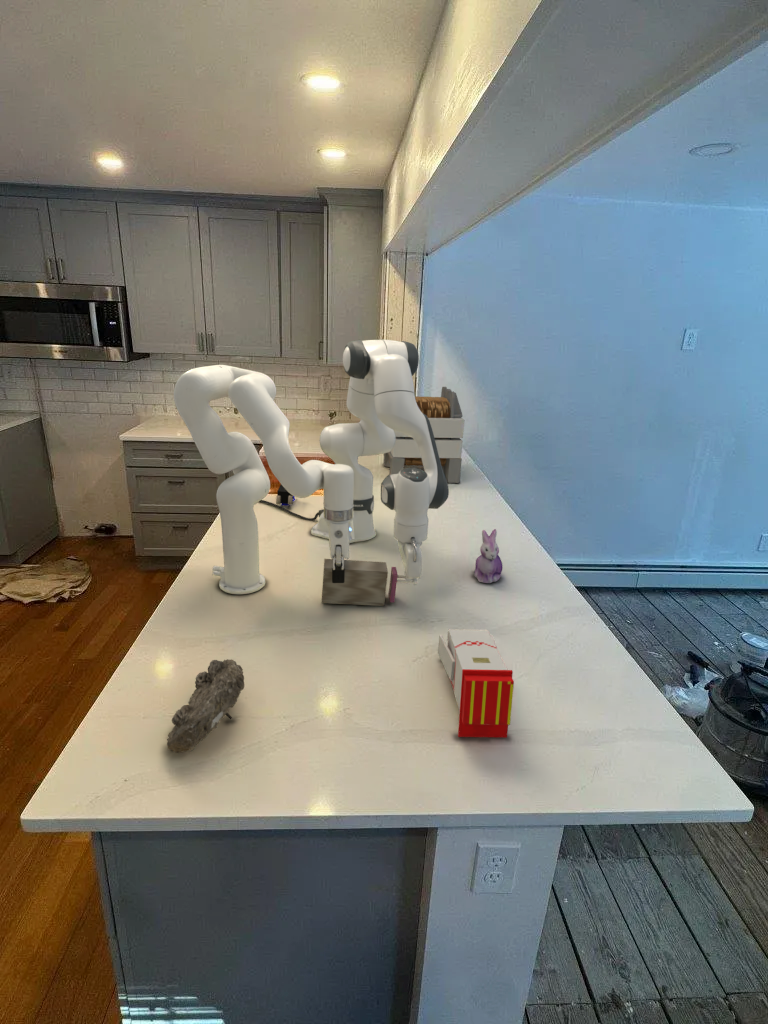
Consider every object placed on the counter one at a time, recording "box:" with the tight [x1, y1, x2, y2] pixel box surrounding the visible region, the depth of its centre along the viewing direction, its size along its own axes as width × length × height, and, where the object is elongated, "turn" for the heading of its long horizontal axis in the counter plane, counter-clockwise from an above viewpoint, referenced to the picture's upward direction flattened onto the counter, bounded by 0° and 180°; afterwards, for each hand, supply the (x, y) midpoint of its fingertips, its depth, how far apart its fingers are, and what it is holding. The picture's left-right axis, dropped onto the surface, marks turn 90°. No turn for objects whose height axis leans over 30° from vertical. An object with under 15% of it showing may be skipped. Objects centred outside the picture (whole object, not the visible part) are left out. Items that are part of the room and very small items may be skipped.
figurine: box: [474, 528, 503, 584], centre depth 167 cm, size 9×10×15 cm
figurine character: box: [275, 483, 296, 509], centre depth 223 cm, size 7×8×15 cm
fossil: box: [166, 658, 245, 754], centre depth 106 cm, size 22×10×15 cm
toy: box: [437, 628, 515, 738], centre depth 117 cm, size 12×13×30 cm
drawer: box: [388, 566, 419, 603], centre depth 152 cm, size 21×5×8 cm, turn 95°
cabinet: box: [321, 558, 389, 607], centre depth 151 cm, size 17×6×10 cm, turn 95°
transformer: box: [383, 386, 465, 484], centre depth 268 cm, size 34×33×41 cm
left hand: (338, 576), depth 150 cm, fingers closed on cabinet, 6 cm apart
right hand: (408, 578), depth 152 cm, fingers closed, pressing on drawer
